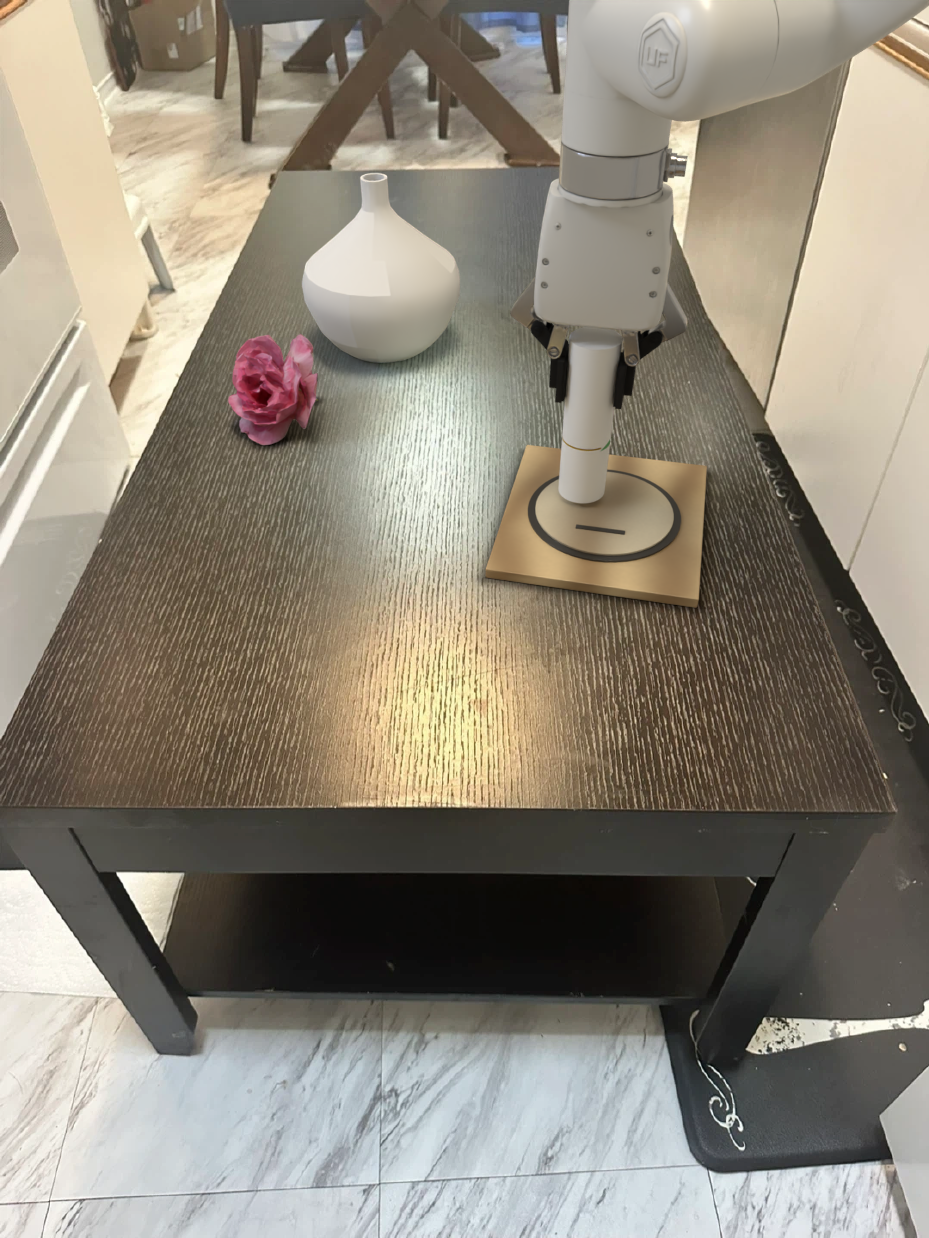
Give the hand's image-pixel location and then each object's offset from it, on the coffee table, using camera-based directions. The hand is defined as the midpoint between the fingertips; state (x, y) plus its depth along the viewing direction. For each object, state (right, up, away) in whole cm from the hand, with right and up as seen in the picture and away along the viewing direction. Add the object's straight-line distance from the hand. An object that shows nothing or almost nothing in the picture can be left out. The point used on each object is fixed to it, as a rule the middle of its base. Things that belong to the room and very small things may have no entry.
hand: (590, 396), depth 76 cm
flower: (-31, +2, +20) cm, 37 cm away
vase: (-20, +14, +33) cm, 41 cm away
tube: (0, -7, +7) cm, 10 cm away
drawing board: (+2, -10, +6) cm, 12 cm away
